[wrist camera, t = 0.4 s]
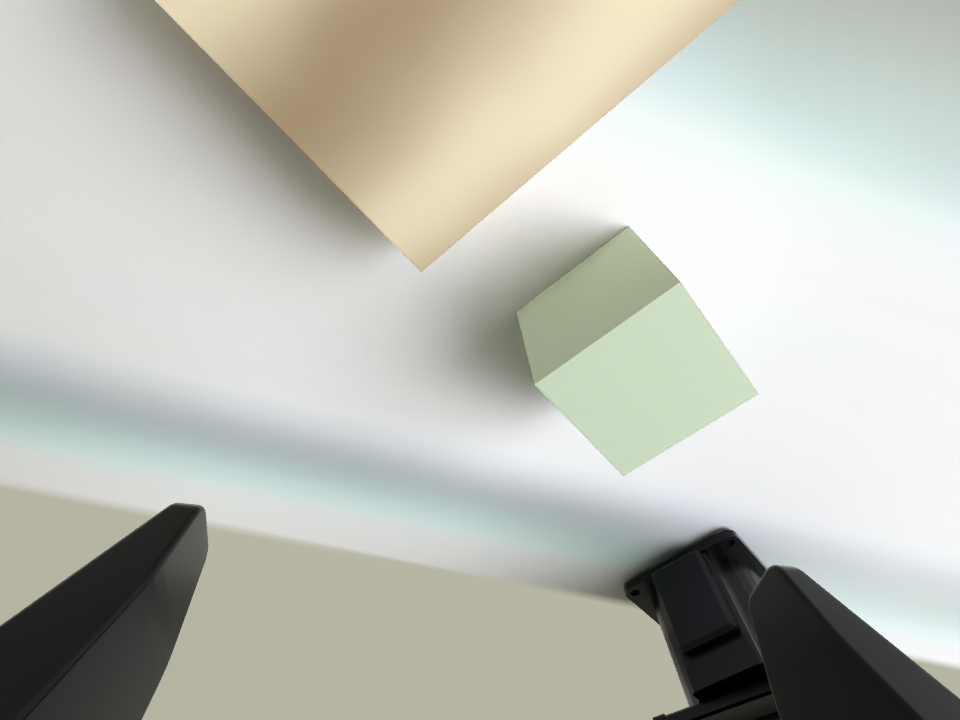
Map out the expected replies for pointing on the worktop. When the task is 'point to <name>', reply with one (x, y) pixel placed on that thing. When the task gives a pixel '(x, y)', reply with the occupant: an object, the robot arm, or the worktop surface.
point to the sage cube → (629, 354)
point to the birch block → (438, 90)
